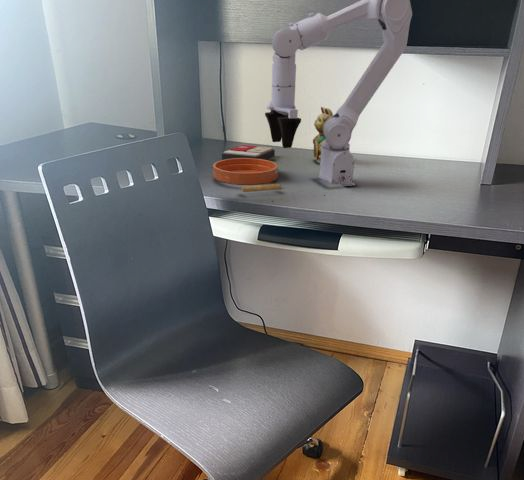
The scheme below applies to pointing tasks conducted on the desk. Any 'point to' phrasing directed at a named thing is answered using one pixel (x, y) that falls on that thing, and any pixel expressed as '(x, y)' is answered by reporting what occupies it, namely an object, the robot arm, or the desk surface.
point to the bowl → (245, 171)
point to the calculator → (249, 152)
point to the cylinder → (260, 187)
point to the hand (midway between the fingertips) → (281, 144)
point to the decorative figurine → (320, 132)
